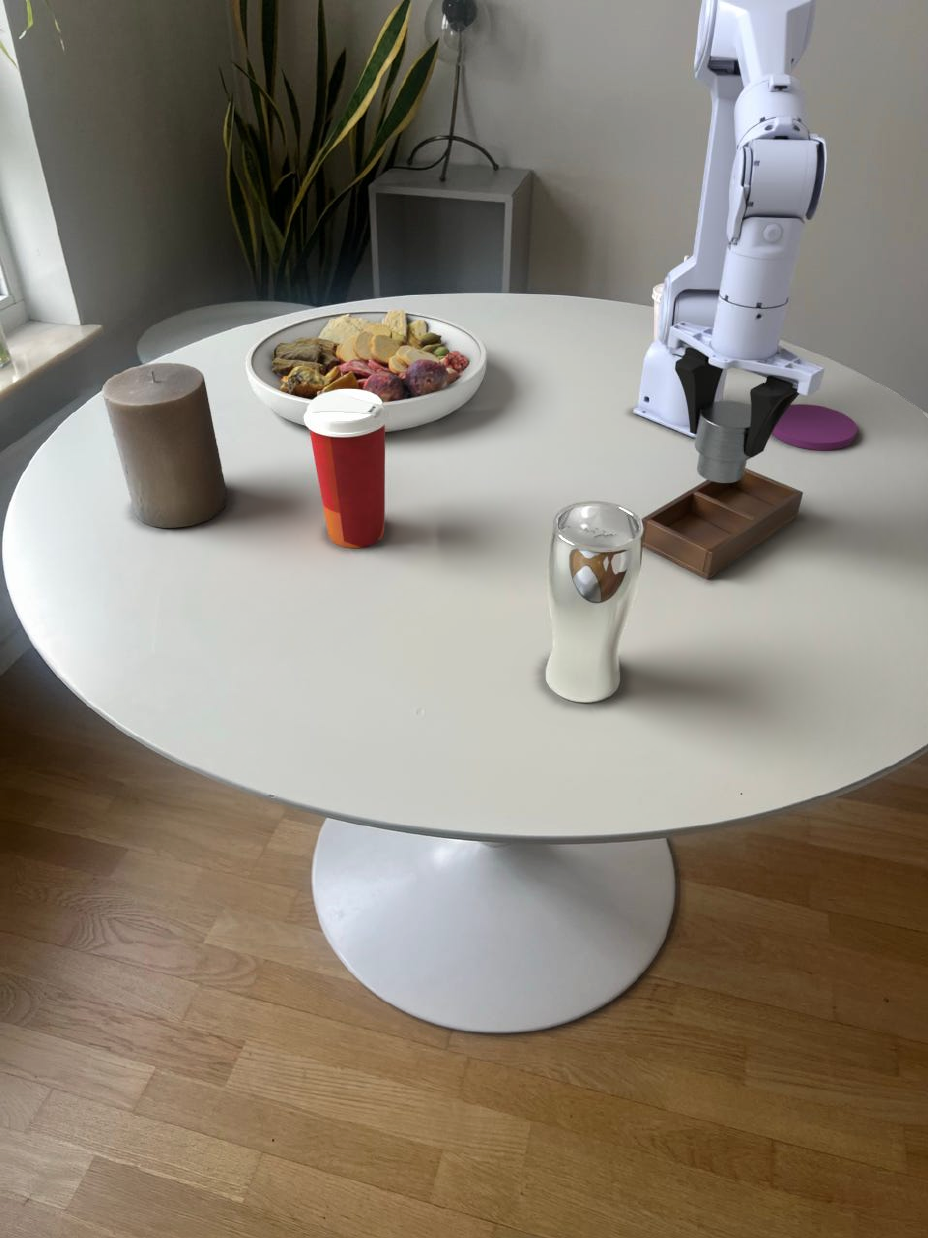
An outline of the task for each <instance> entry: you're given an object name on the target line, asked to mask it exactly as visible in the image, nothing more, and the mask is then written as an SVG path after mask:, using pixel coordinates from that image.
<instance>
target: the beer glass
mask: <svg viewBox="0 0 928 1238" xmlns="http://www.w3.org/2000/svg"><path fill="white" fill-rule="evenodd" d="M643 531H644V527H643V523H642V519H641V518H640V517H639V516H638V515H637V513H635V512H634V511H632V510H631V509H629V508H627V507H625V506H622V505H619V504H618V503H613V502H608V501H600V500H587V501H586V500H585V501H579V502H575V503H571V504H569V505H567V506H564V507H563V508H561V509H560V510H559V511H558V512H556V514H555V515H554V517H553V519H552V529H551V535H550V540H549V547H548V553H547V563H546V592H547V593H546V595H547V603H548V611H549V617H550V618H549V619H550V623H551V630H552V631H551V633H552V645H551V646H552V647H551V652H550V655H549V658H548V661H547V664H546V667H545V680H546V683H547V685H548V687H549V689H551V690H552V691H553V692H554V693H555V694H556V695H557V696H559V697H561V698H563V699H566V700H568V701H571V702H575V703H581V704H583V703H584V704H585V703H586V704H587V703H590V704H591V703H596V702H600V701H603V700H605V699H607V698H609V697H611V696H612V695H613V694H614V693H616V691H617V690H618V688H619V685H620V682H621V670H620V664H619V663H620V662H619V661H620V660H619V652H620V651H619V650H620V646H621V641H622V638H623V635H624V632H625V630H626V627H627V624H628V621H629V619H630V617H631V614H632V611H633V608H634V604H635V602H636V598H637V594H638V590H639V585H640V579H641V573H642V564H643V563H642V562H643V561H642V559H643V546H642V540H643Z"/></svg>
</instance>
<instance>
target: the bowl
mask: <svg viewBox="0 0 928 1238" xmlns="http://www.w3.org/2000/svg"><path fill="white" fill-rule="evenodd" d="M487 356H488V354H487V348H486V345H485V344H484V342H483V341H482V339H481V338H480V337H479V336H478V335H477V334H475V332H473V331H471V330H470V329H468V328H467V327H465V326H464V325H461V324H460V323H457V322H455V321H454V322H453V321H452V320H449V319H446V318H443V317H439V316H436V315H431V314H427V313H421V312H414V311H407V310H402V309H401V310H393V309H357V310H345V311H337V312H330V313H325V314H319V315H314V316H311V317H306V318H302V319H300V320H296V321H293V322H290V323H288V324H285V325H283V326H280V327H278V328H275V329H274V330H272V331H270V332H268V333H266V334H265V335H264V336H262V337H261V338H260V339H258V340H257V341H256V342H255V343H254V344H253V345H252V346H251V347H250V349H249V350H248V352H247V354H246V357H245V369H246V376H247V379H248V381H249V385H250V387H251V389H252V390H253V392H254V394H255V395H256V397H257V398H258V399H259V400H260V401H261V402H262V404H264V406H266V407H267V408H268V409H270V410H271V411H272V412H274V413H275V414H277V415H278V416H280V417H282V418H284V419H285V420H288V421H290V422H293V423H295V424H298V425H301V426H304V427H307V426H306V424H305V420H304V415H305V413H306V412H307V407H308V406H309V404H310V403H311V401H312V400H313V399H314V398H316V397H317V396H319V395H321V394H323V393H326V392H330V391H334V390H339V389H359V390H364V391H368V392H371V393H373V394H375V395H377V396H378V397H379V398H380V399H381V401H382V403H383V406H384V408H385V409H386V411H387V413H388V420H387V422H386V423H385V433H388V432H396V431H401V430H407V429H412V428H415V427H419V426H423V425H426V424H429V423H431V422H435V421H436V420H439V419H442V418H444V417H446V416H448V415H450V414H451V413H453V412H455V411H456V410H458V409H459V408H461V407H462V406H463V405H464V404H466V403H467V402H468V401H469V400H470V399H472V397H473V396H474V395H475V394H476V392H477V391H478V389H479V388H480V386H481V384H482V382H483V380H484V377H485V373H486V370H487V359H488V357H487Z"/></svg>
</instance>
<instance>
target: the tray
mask: <svg viewBox="0 0 928 1238" xmlns="http://www.w3.org/2000/svg"><path fill="white" fill-rule="evenodd" d="M803 496H804V491H802V490H799V489H796V488H794V487H792V486H789V485H787V484H785V483H782V482H780V481H778V480H775V479H773V478H771V477H768V476H766V475H763V474H761V473H758V472H756V471H754V470H751V469H749V468H746V467H745V472H744V476H743V477H742V479H740V480H739V481H736V482H732V483H718V482H713V481H710V480H707V479H705V480H704V481H702V482H700V483H699V484H698V485H695V486H694V487H692V488H691V489H690V490H687V491H686V492H683V493H682V494H681V495H679V496H677V497H676V498H674V499H673V500H670V501H669V502H667V503H666V504H664V505H662V506H660V507H658V508H657V509H655V510H654V511H652V512H651V513H649V514H647V515H646V516H644V517H642V518H641V521H642V523H643V527H644V531H643V540H642V548H645V549H646V550H649V551H650V552H652V553H654V554H657V555H659V556H660V557H662V558H664V559H666V560H668V561H670V562H671V563H674V564H676V565H678V566H680V567H681V568H684V569H686V570H688V571H689V572H692V573H693V574H695V575H697V576H698V577H699V576H700V577H702V578H703V579H705V580H709V579H711V578H712V577H713V576H714V575H716V574H718V573H719V572H720V571H722V570H723V569H725V568H726V567H728V566H729V565H730V564H732V563H733V562H735V561H736V560H738V559H739V558H740V557H742V556H743V555H745V554H746V553H748V552H749V551H750V550H752V549H754V548H755V547H756V546H758V545H759V544H761V543H762V542H763V541H765V540H766V539H768V538H769V537H771V536H772V535H773V534H775V533H776V532H778V531H779V530H781V529H783V527H785V526H786V525H788V524H790V523H791V522H792V521H794V520H795V519H796V518H798V515H799V510H800V507H801V503H802V499H803Z"/></svg>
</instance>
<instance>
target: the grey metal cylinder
mask: <svg viewBox="0 0 928 1238" xmlns="http://www.w3.org/2000/svg"><path fill="white" fill-rule="evenodd" d="M750 423H751V404H750V405H749V404H747V403H743V402H739V401H734V400H722V401H716V402H711V403H708V404H706V405H705V406H703V407H702V408H701V410H700V415H699V421H698V427H697V433H696V438H694V439H695V440H694V448H695V450H696V451H697V453H698V461H697V465H696V472H697V474H698V475H699V476H700V477H701V478H703V479H705V480H710V481H713V482H718V483H732V482H736V481H739V480H740V479H742V477H743V476H744V472H745V468H746V466H747V463H748V460H750V459H752V458H753V457H749V456H746V455H745V449H746V442H747V438H748V433H749V429H750Z"/></svg>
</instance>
